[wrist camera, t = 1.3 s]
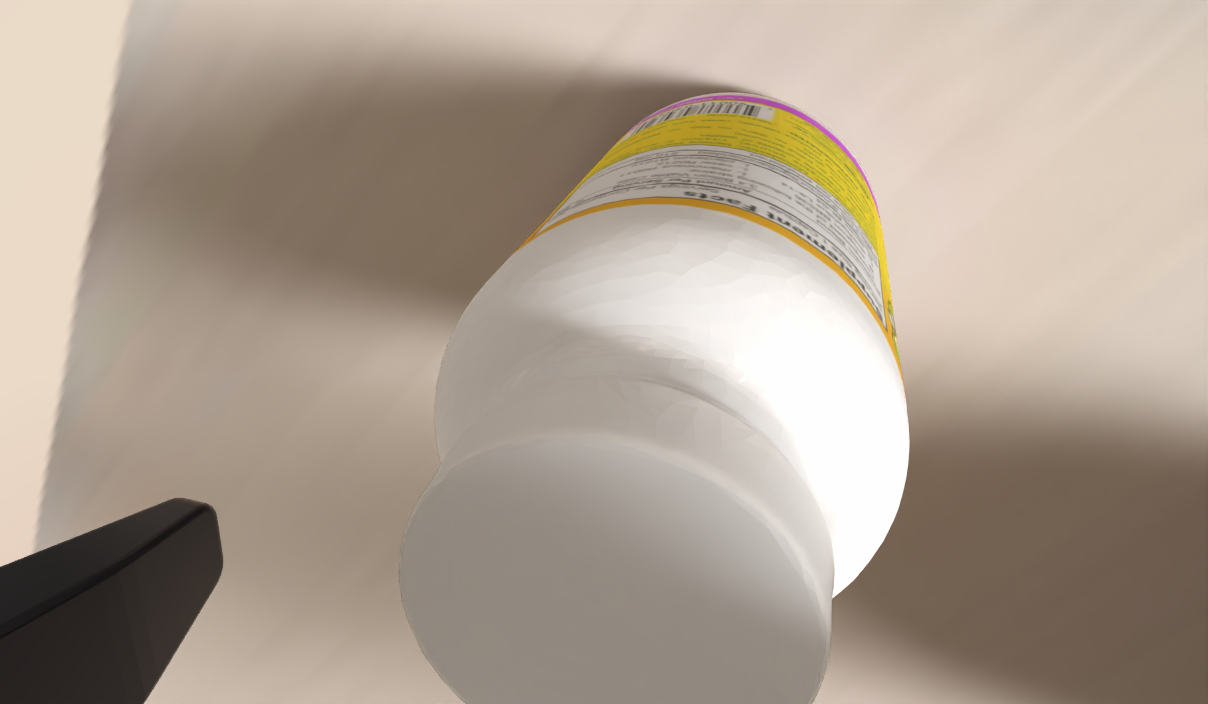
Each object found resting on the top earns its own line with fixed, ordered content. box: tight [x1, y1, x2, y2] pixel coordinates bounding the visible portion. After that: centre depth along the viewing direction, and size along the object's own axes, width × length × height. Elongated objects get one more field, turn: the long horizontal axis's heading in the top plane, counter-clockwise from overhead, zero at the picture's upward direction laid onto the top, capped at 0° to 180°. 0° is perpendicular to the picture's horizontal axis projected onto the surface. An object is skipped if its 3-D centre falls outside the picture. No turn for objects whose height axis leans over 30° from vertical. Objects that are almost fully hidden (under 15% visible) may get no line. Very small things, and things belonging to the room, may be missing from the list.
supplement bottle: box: [399, 92, 910, 704], centre depth 15 cm, size 7×7×13 cm
